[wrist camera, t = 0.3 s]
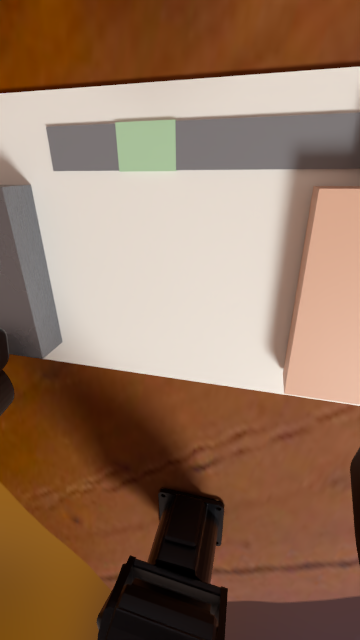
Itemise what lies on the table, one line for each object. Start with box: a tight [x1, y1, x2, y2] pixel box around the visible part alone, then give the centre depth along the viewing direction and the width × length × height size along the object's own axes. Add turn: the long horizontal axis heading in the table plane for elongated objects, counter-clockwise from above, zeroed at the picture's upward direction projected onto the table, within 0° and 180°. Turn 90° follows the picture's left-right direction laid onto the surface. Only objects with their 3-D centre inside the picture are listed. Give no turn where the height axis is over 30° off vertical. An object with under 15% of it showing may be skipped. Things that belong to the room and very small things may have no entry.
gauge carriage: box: [283, 186, 360, 405], centre depth 17 cm, size 15×5×2 cm, turn 1°
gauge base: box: [0, 67, 360, 406], centre depth 19 cm, size 19×31×3 cm, turn 91°
